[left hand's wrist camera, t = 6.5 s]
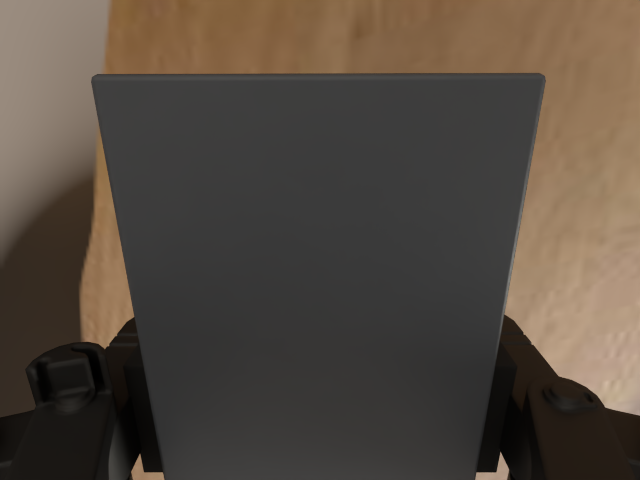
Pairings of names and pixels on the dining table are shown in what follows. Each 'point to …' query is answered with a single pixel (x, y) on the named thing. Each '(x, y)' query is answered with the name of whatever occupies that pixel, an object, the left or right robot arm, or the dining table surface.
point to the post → (319, 263)
